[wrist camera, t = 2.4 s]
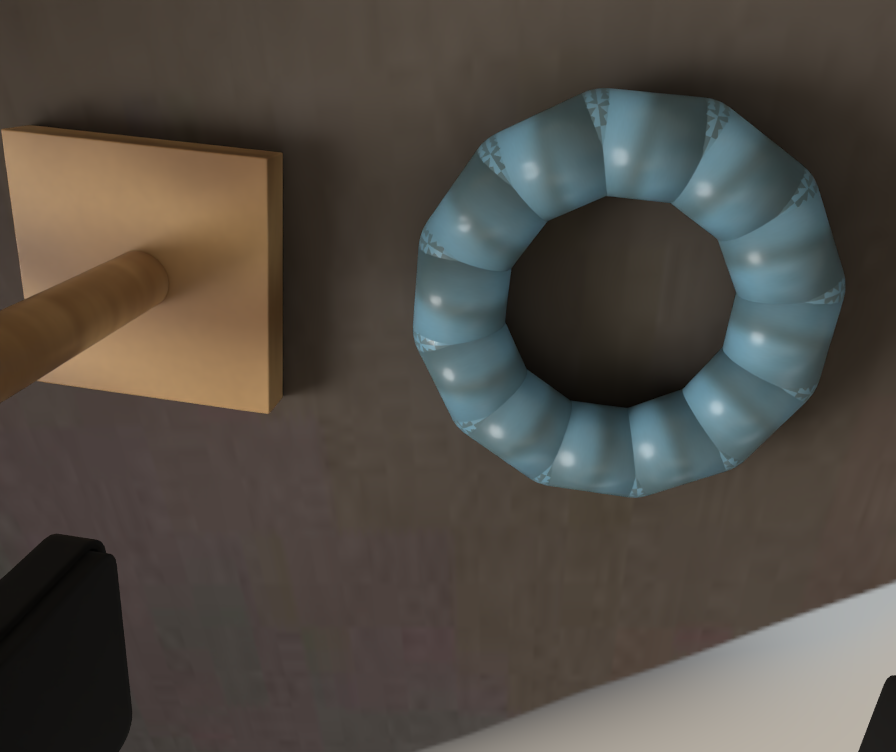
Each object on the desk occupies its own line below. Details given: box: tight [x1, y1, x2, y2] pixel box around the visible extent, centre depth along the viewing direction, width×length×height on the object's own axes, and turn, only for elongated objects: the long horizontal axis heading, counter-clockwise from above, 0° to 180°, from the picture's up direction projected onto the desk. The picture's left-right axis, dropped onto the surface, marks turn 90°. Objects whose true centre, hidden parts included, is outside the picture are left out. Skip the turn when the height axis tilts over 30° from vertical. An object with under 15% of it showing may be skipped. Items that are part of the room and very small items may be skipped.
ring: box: [413, 88, 845, 497], centre depth 25 cm, size 13×13×3 cm
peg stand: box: [0, 125, 283, 414], centre depth 22 cm, size 9×9×12 cm
